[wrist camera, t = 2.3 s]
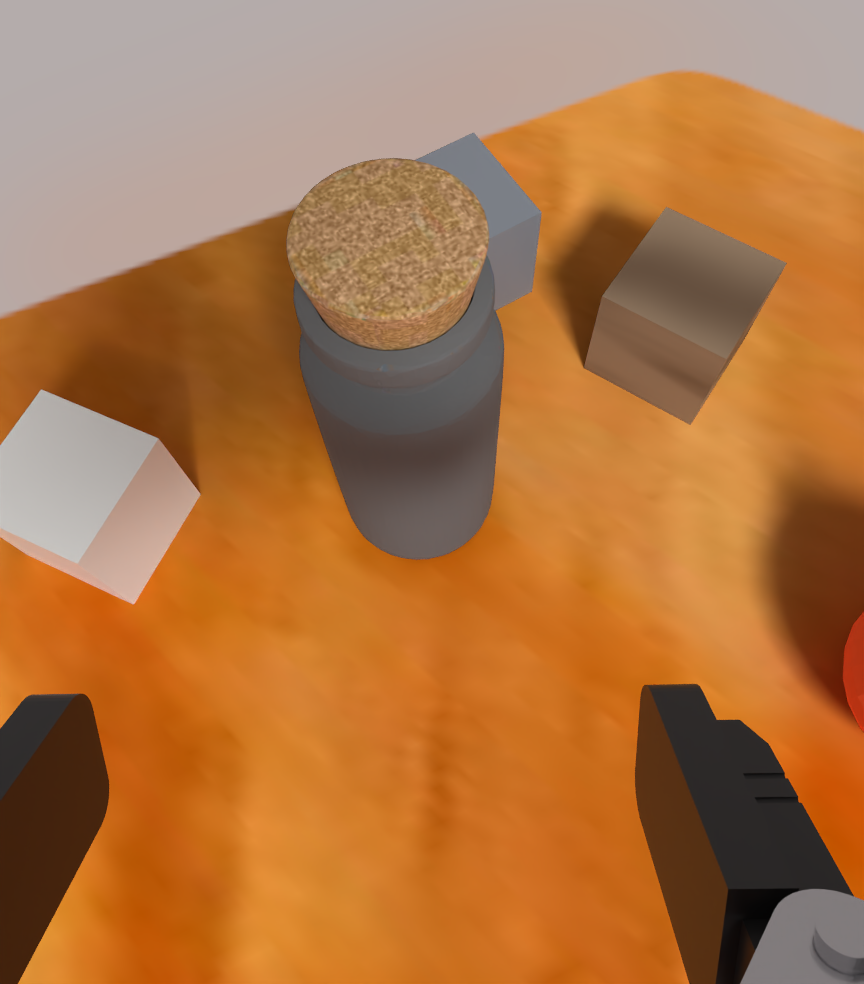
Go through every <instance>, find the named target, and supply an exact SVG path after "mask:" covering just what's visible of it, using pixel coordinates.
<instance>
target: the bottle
mask: <svg viewBox="0 0 864 984" xmlns="http://www.w3.org/2000/svg"><path fill="white" fill-rule="evenodd" d="M488 244H489V226H488V222H487V218H486V215H485V212H484V209H483V207H482V206H481V204H480V202H479V200H478V198H477V197H476V195H475V194H474V193H473V192H472V191H471V190H470V189H469V188H468V187H467V186H466V185H465V184H464V183H463V182H462V181H461V180H459V179H458V178H457V177H455V176H454V175H452V174H450V173H449V172H447V171H446V170H443V169H441V168H438V167H436V166H433V165H431V164H428V163H424V162H419V161H415V160H409V159H398V158H392V159H391V158H390V159H378V160H370V161H365V162H361V163H358V164H354V165H352V166H349V167H346V168H343V169H341V170H339V171H337V172H335V173H333V174H331V175H330V176H329V177H327V178H325V179H324V180H322V181H321V182H319V183H318V184H317V185H316V186H314V187H313V188H312V189H311V190H310V191H309V193H308V194H307V195H306V196H305V197H304V198H303V200H302V201H301V202H300V203H299V205H298V207H297V208H296V210H295V212H294V213H293V216H292V219H291V222H290V225H289V227H288V233H287V240H286V247H287V256H288V261H289V265H290V268H291V270H292V272H293V274H294V276H295V283H294V305H295V309H296V314H297V318H298V321H299V325H300V328H301V331H302V334H301V338H300V349H299V355H300V367H301V371H302V375H303V379H304V382H305V386H306V389H307V392H308V395H309V398H310V401H311V404H312V407H313V410H314V413H315V416H316V419H317V422H318V425H319V428H320V431H321V434H322V437H323V440H324V443H325V446H326V449H327V452H328V454H329V457H330V460H331V463H332V466H333V469H334V471H335V474H336V477H337V480H338V483H339V485H340V488H341V491H342V494H343V497H344V499H345V502H346V505H347V507H348V510H349V512H350V515H351V517H352V519H353V521H354V523H355V525H356V526H357V528H358V529H359V531H360V532H361V533H362V535H363V536H364V537H365V538H366V539H367V540H368V541H370V542H371V543H372V544H373V545H375V546H376V547H378V548H379V549H381V550H383V551H385V552H387V553H389V554H391V555H394V556H398V557H402V558H407V559H430V558H434V557H438V556H442V555H445V554H448V553H450V552H452V551H454V550H456V549H458V548H459V547H461V546H462V545H464V544H465V543H466V542H468V541H469V540H470V539H471V538H472V537H473V536H474V535H475V534H476V532H477V531H478V530H479V529H480V528H481V526H482V524H483V522H484V520H485V518H486V516H487V514H488V511H489V508H490V505H491V500H492V493H493V486H494V475H495V463H496V451H497V439H498V428H499V416H500V404H501V392H502V379H503V363H504V341H503V333H502V329H501V324H500V322H499V319H498V317H497V314H496V312H495V310H494V304H495V282H494V274H493V270H492V267H491V264H490V260H489V258H488V256H487V250H488Z"/></svg>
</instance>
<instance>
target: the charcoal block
mask: <svg viewBox="0 0 864 984" xmlns="http://www.w3.org/2000/svg"><path fill="white" fill-rule="evenodd" d="M415 161H419V162H424V163H428V164H431V165H433V166H436V167H438V168H441V169H443V170H446V171H447V172H449V173H450V174H452V175H454V176H455V177H457V178H458V179H459V180H461V181H462V182H463V183H464V184H465V185H466V186H467V187H468V188H469V189H470V190H471V191H472V192H473V193H474V194H475V195H476V197H477V198H478V200H479V202H480V204H481V206H482V207H483V209H484V212H485V215H486V218H487V222H488V226H489V244H488V250H487V256H488V258H489V260H490V264H491V267H492V270H493V274H494V282H495V304H494V310H497V309H499V308H501V307H503V306H505V305H507V304H509V303H511V302H513V301H515V300H517V299H518V298H520V297H522V296H524V295H526V294H528V293H530V292H532V286H533V278H534V270H535V262H536V253H537V245H538V237H539V229H540V221H541V211H540V210H539V209H538V208H537V207H536V205H535V204H534V203H533V202H532V201H531V200H530V198H529V197H528V196H527V195H526V194H525V192H524V191H523V190H522V189H521V188H520V187H519V185H518V184H517V183H516V182H515V181H514V180H513V178H512V177H511V176H510V175H509V174H508V172H507V171H506V170H505V169H504V168H503V167H502V165H501V164H500V163H499V162H498V161H497V159H496V158H495V157H494V156H493V155H492V154H491V152H490V151H489V150H488V149H487V148H486V146H485V145H484V144H483V143H482V142H481V141H480V139H479V138H478V137H477V136H476V135H475V134H474V133H472V134H469V135H467V136H465V137H463V138H461V139H459V140H457V141H455V142H453V143H450V144H448V145H446V146H444V147H442V148H440V149H438V150H436V151H434V152H431V153H429V154H427V155H425V156H423V157H421V158H419V159H417V160H415Z"/></svg>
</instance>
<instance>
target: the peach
mask: <svg viewBox="0 0 864 984" xmlns="http://www.w3.org/2000/svg"><path fill="white" fill-rule="evenodd" d="M843 682H844V687H845V691H846V696H847V701H848V704H849V706H850V708H851V710H852V713H853V715H854V717H855V719H856V721H857V723H858V725H859V727H860V728H861V729H862V731H863V732H864V611H863V613H862V614H861V615H860V616H859V618H858V619H857V620H856V621H855V623H854V624H853V626H852V629H851V631H850V634H849V637H848V639H847V642H846V645H845V648H844V664H843Z"/></svg>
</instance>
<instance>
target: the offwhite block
mask: <svg viewBox="0 0 864 984" xmlns="http://www.w3.org/2000/svg"><path fill="white" fill-rule="evenodd" d="M200 495H201V494H200V493H199V491H198V490H197V489H196V487H195V486H194V485H193V483H192V482H191V481H190V479H189V478H188V477H187V475H186V474H185V473H184V471H183V470H182V469H181V467H180V466H179V465H178V463H177V462H176V461H175V459H174V458H173V457H172V455H171V454H170V453H169V451H168V450H167V449H166V448H165V446H164V445H163V444H162V442H161V441H160V440H159V438H157V437H154V436H152V435H149V434H147V433H145V432H142V431H140V430H137V429H135V428H133V427H130V426H128V425H125V424H123V423H121V422H118V421H116V420H113V419H111V418H109V417H106V416H104V415H101V414H99V413H97V412H94V411H92V410H90V409H87V408H85V407H82V406H80V405H78V404H75V403H73V402H70V401H68V400H66V399H63V398H61V397H58V396H56V395H54V394H51V393H49V392H46V391H44V390H42V389H41V390H40V392H39V393H38V395H37V396H36V397H35V399H34V400H33V401H32V403H31V404H30V405H29V407H28V408H27V410H26V411H25V412H24V414H23V415H22V416H21V418H20V419H19V421H18V422H17V423H16V425H15V426H14V427H13V429H12V430H11V432H10V433H9V434H8V436H7V437H6V438H5V440H4V441H3V443H2V444H1V445H0V537H1V538H3V539H4V540H6V541H7V542H9V543H10V544H12V545H13V546H15V547H16V548H18V549H19V550H21V551H22V552H24V553H25V554H27V555H29V556H31V557H33V558H35V559H37V560H39V561H42V562H44V563H46V564H48V565H50V566H52V567H54V568H56V569H59V570H61V571H63V572H65V573H67V574H69V575H71V576H74V577H76V578H78V579H80V580H82V581H84V582H86V583H88V584H91V585H93V586H95V587H97V588H99V589H101V590H103V591H106V592H108V593H110V594H112V595H114V596H116V597H118V598H120V599H123V600H125V601H127V602H129V603H131V604H133V605H134V603H135V602H136V600H137V598H138V597H139V595H140V593H141V592H142V590H143V589H144V587H145V585H146V584H147V582H148V580H149V579H150V577H151V575H152V574H153V572H154V570H155V569H156V567H157V565H158V564H159V562H160V561H161V559H162V557H163V556H164V554H165V552H166V551H167V549H168V547H169V546H170V544H171V542H172V541H173V539H174V537H175V536H176V534H177V533H178V531H179V529H180V528H181V526H182V524H183V523H184V521H185V519H186V518H187V516H188V514H189V513H190V511H191V510H192V508H193V506H194V505H195V503H196V501H197V500H198V498H199V496H200Z"/></svg>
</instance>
